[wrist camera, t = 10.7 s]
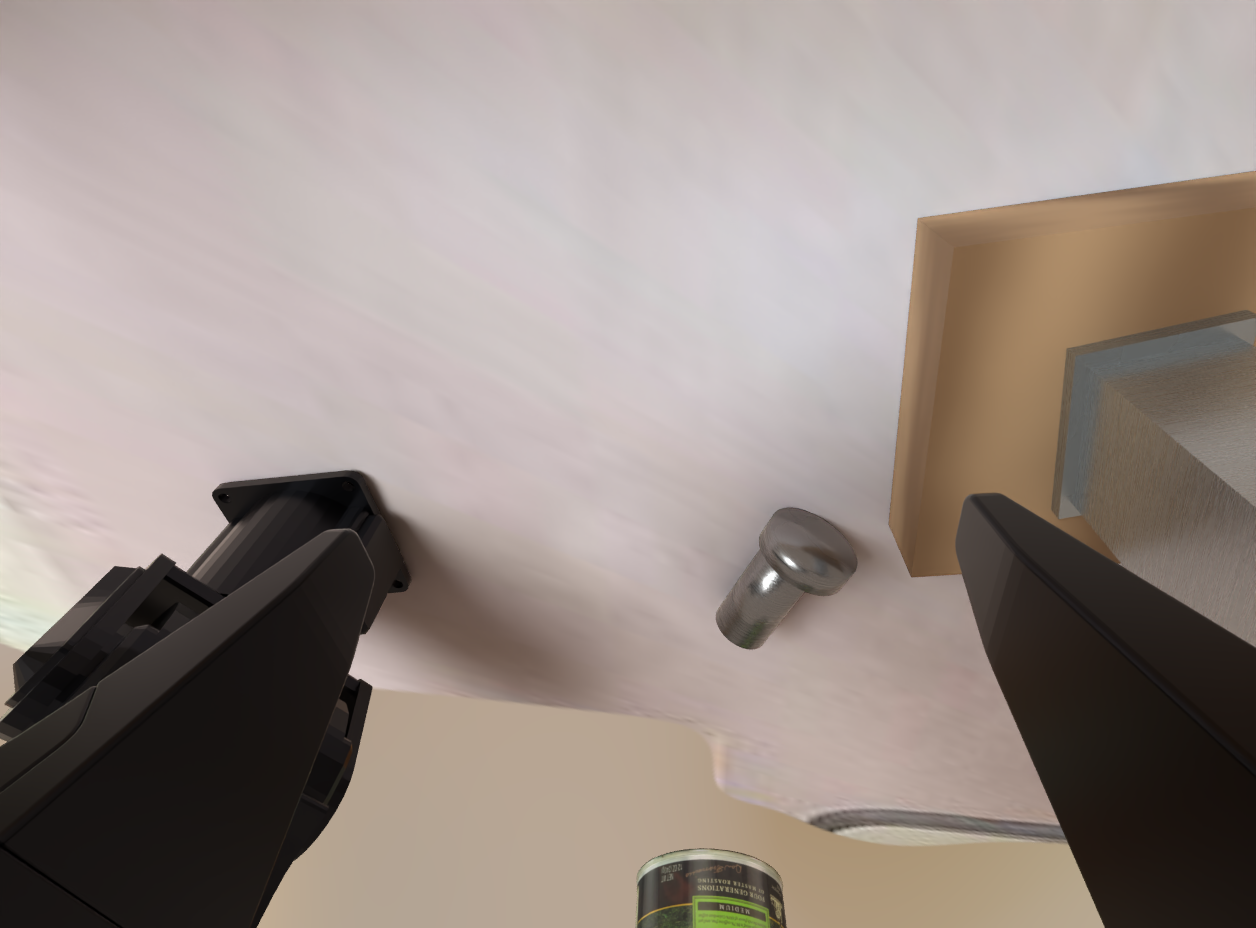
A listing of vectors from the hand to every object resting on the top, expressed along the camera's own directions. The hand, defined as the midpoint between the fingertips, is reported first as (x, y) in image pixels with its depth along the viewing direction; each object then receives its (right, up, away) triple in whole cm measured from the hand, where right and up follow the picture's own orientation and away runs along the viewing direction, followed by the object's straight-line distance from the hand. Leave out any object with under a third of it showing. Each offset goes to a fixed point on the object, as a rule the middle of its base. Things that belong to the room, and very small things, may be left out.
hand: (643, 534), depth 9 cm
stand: (+15, +4, +12) cm, 20 cm away
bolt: (+6, -3, +18) cm, 19 cm away
